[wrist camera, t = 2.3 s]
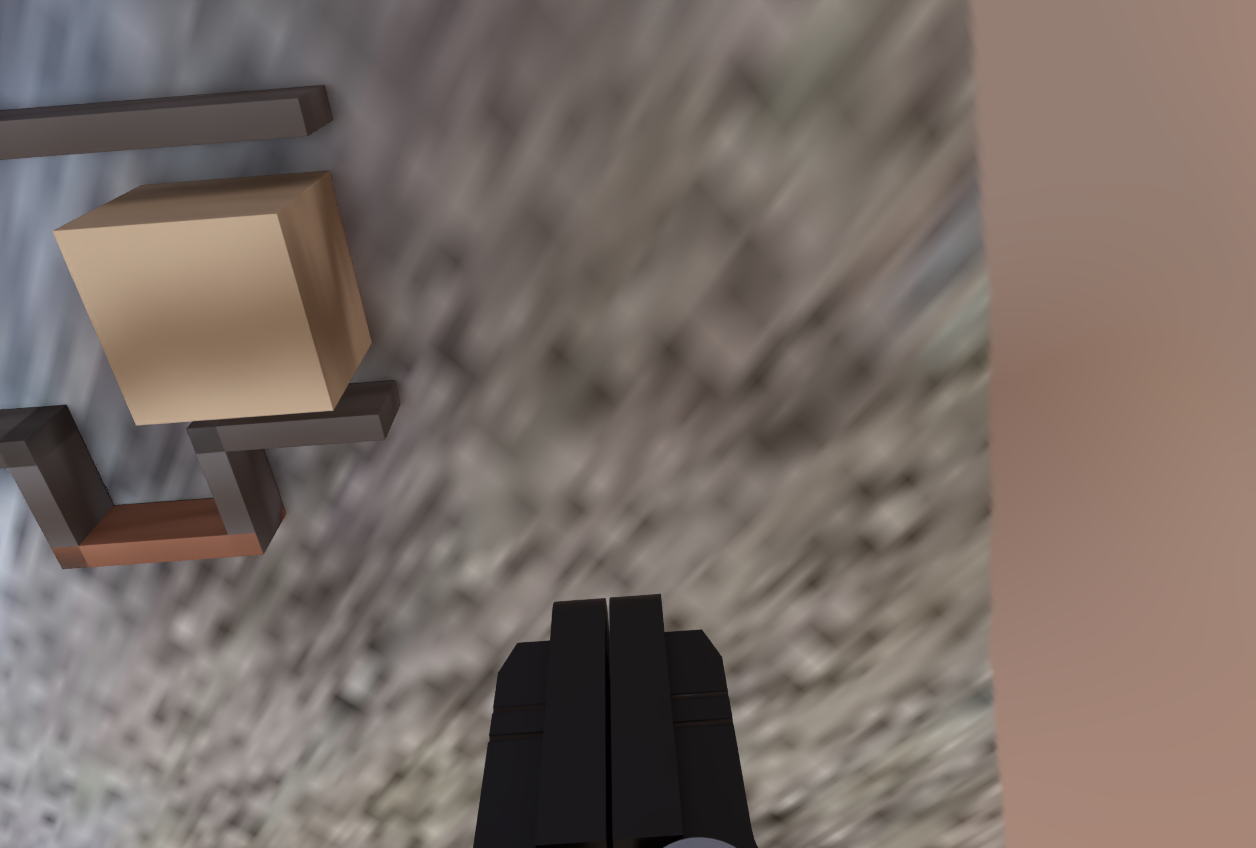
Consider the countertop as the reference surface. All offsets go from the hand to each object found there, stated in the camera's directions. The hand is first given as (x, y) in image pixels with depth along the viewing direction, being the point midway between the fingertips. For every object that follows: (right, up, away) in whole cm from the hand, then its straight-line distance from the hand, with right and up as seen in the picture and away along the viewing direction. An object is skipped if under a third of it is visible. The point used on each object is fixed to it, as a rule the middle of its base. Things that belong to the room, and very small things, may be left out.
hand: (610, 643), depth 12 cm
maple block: (-12, +8, +16) cm, 22 cm away
